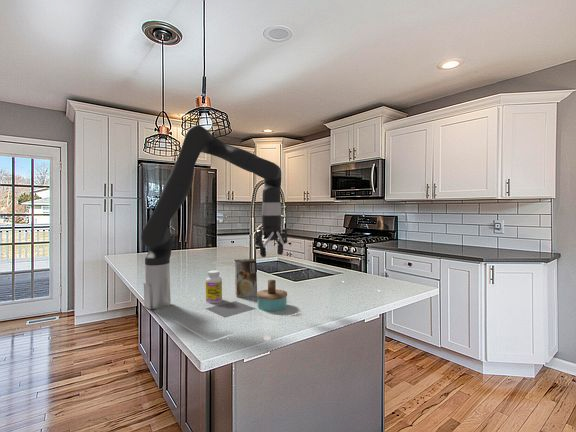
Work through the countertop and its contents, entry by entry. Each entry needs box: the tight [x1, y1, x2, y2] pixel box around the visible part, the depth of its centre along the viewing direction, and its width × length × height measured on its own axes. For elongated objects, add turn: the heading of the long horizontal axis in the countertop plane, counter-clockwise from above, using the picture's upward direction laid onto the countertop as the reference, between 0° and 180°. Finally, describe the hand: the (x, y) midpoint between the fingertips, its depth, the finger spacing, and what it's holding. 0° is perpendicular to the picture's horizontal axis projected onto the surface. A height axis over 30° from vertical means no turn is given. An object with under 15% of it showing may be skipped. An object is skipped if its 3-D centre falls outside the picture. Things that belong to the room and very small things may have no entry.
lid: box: [256, 279, 288, 300], centre depth 128 cm, size 12×12×6 cm
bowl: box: [257, 295, 288, 312], centre depth 128 cm, size 11×11×5 cm
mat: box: [204, 300, 256, 318], centre depth 126 cm, size 14×14×1 cm
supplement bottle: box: [205, 269, 223, 304], centre depth 137 cm, size 7×7×13 cm
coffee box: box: [234, 258, 258, 298], centre depth 146 cm, size 9×6×16 cm
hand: (272, 255), depth 128 cm, fingers open, 8 cm apart
